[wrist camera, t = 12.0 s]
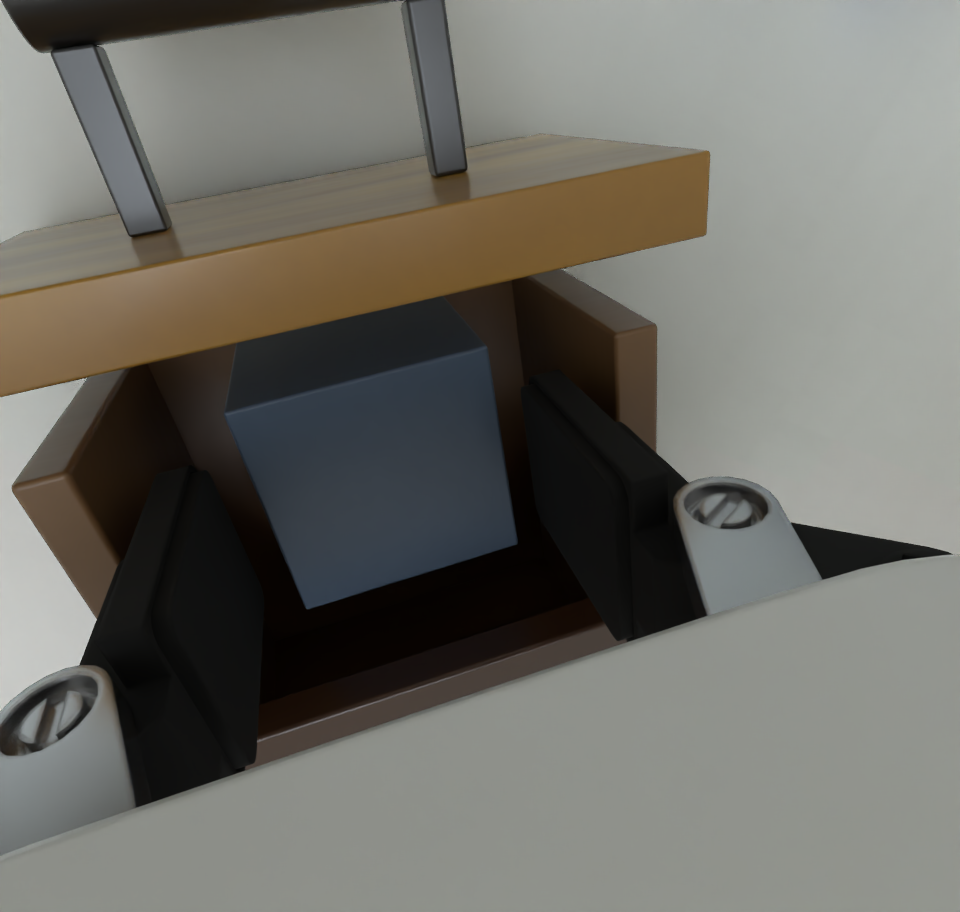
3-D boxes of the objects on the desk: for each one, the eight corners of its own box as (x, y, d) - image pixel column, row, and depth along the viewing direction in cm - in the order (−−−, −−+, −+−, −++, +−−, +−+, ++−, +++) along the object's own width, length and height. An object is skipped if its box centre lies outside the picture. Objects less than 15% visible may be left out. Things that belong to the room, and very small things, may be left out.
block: (237, 329, 14) (221, 413, 10) (433, 282, 14) (488, 345, 11) (299, 493, 16) (306, 611, 12) (464, 446, 17) (519, 545, 13)
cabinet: (155, 513, 17) (68, 802, 10) (571, 402, 19) (745, 576, 12) (298, 786, 24) (307, 1069, 17) (592, 683, 26) (710, 899, 19)
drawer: (-99, -2, 11) (-532, -126, 5) (524, -82, 12) (730, -241, 7) (235, 646, 19) (217, 874, 13) (575, 542, 21) (685, 703, 15)
